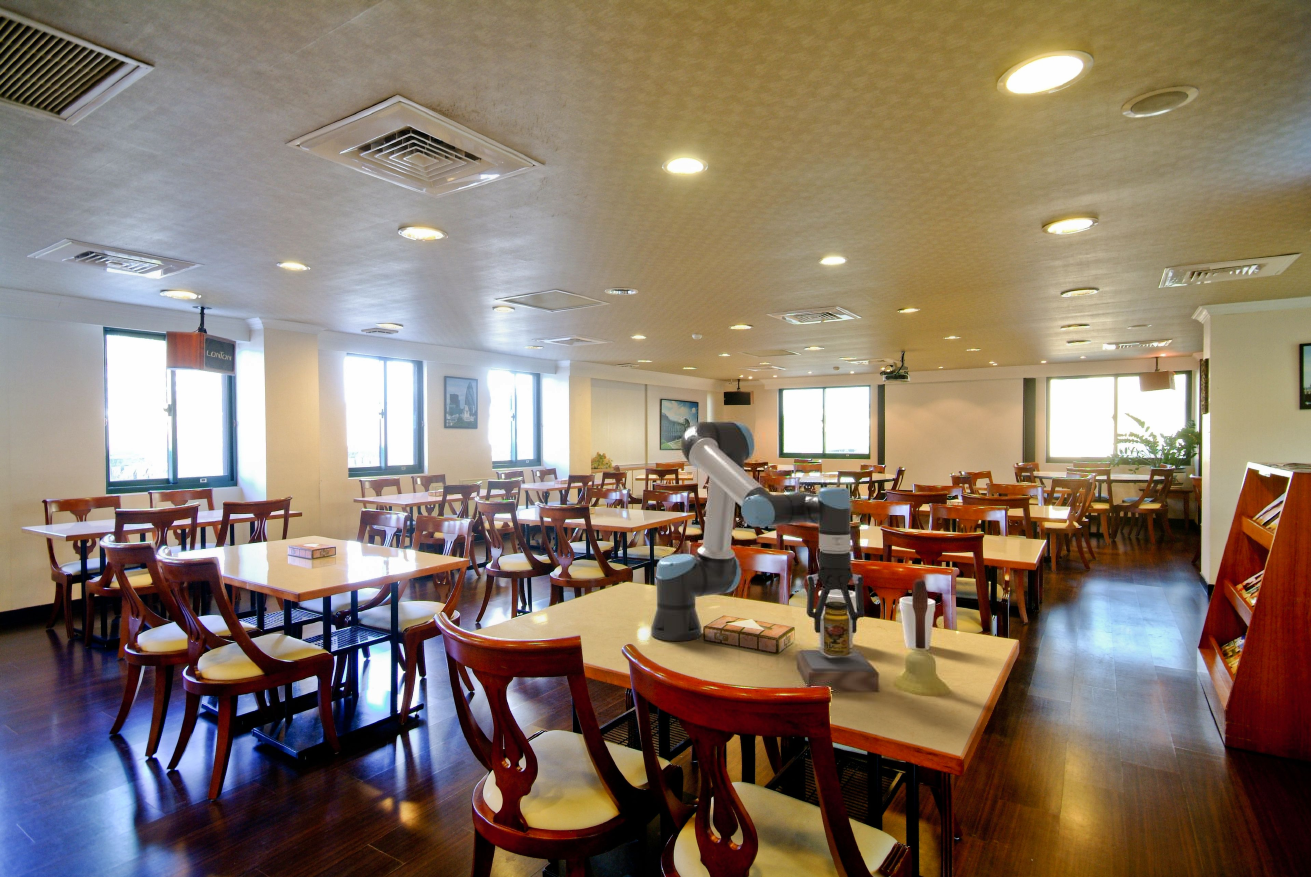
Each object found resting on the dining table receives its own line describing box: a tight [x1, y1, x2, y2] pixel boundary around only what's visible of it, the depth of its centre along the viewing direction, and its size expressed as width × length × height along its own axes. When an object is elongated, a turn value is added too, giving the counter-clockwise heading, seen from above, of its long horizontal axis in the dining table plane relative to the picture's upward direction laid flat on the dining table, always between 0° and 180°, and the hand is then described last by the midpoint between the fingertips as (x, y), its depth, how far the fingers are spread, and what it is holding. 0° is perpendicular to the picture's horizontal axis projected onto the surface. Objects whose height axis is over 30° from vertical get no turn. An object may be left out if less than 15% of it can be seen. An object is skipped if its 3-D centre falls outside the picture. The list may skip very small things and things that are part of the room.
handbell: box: [892, 579, 950, 697], centre depth 159 cm, size 12×12×25 cm
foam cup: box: [899, 596, 936, 651], centre depth 190 cm, size 10×9×13 cm
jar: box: [818, 589, 858, 639], centre depth 192 cm, size 11×10×15 cm
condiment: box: [814, 601, 857, 658], centre depth 164 cm, size 7×8×12 cm
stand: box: [796, 649, 880, 693], centre depth 164 cm, size 16×16×5 cm
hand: (835, 645), depth 164 cm, fingers closed on condiment, 6 cm apart
